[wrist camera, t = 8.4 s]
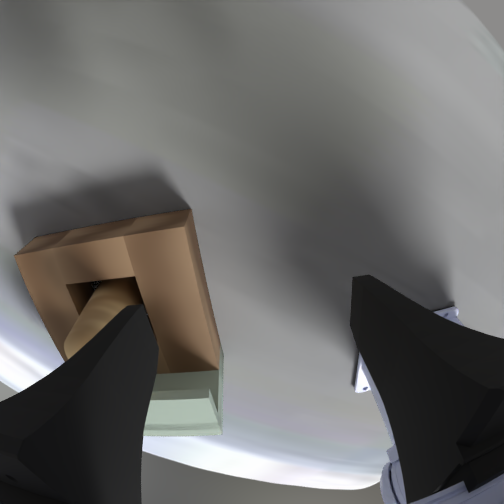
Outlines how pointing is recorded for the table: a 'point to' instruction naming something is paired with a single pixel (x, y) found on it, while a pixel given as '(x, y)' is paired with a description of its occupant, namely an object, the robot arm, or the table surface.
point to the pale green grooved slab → (186, 404)
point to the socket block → (127, 265)
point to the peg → (102, 310)
